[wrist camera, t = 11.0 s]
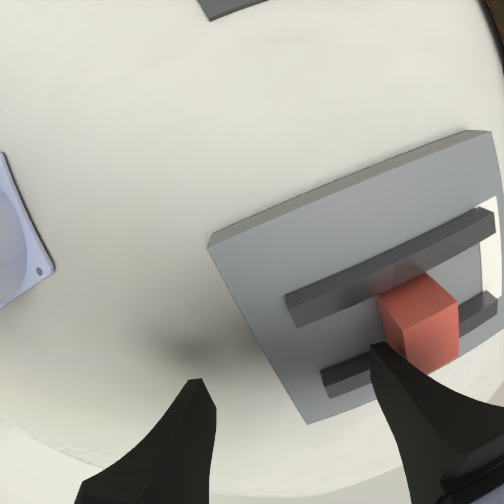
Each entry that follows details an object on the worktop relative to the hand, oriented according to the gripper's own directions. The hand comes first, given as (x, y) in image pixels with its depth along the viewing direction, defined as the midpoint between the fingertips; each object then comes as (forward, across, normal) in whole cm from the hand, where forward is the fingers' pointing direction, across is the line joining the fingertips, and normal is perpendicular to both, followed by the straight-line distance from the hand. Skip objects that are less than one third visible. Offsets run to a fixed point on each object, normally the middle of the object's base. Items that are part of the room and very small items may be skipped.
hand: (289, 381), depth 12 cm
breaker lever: (+2, -6, -1) cm, 6 cm away
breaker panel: (+4, -6, -1) cm, 7 cm away
